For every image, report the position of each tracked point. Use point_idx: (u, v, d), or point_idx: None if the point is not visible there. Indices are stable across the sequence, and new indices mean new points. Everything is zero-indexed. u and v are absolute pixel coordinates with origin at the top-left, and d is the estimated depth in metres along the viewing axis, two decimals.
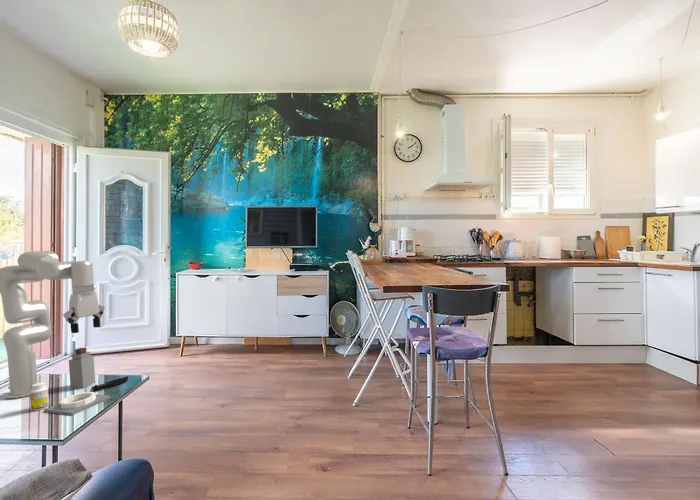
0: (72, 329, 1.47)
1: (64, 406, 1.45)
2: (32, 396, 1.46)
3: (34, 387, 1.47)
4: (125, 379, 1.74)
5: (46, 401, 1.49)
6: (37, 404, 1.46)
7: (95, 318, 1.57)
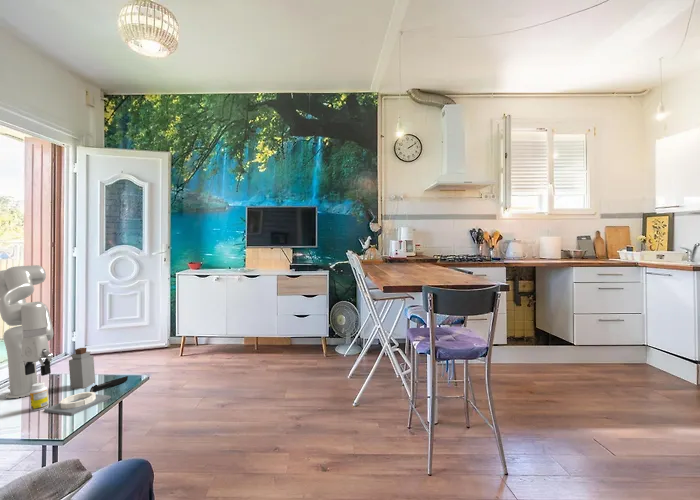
0: (47, 370, 1.47)
1: (64, 406, 1.45)
2: (32, 396, 1.46)
3: (34, 387, 1.47)
4: (125, 379, 1.74)
5: (46, 401, 1.49)
6: (37, 404, 1.46)
7: (29, 364, 1.50)
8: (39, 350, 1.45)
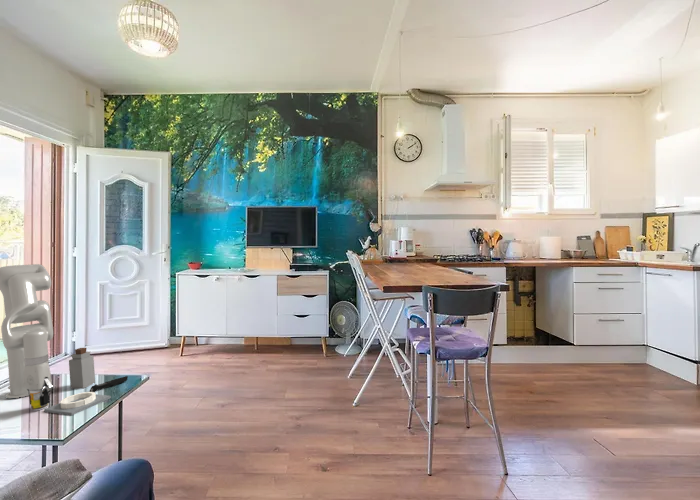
0: (46, 400, 1.48)
1: (64, 406, 1.45)
2: (32, 396, 1.46)
3: None
4: (125, 379, 1.74)
5: None
6: (37, 404, 1.46)
7: None
8: (41, 378, 1.46)
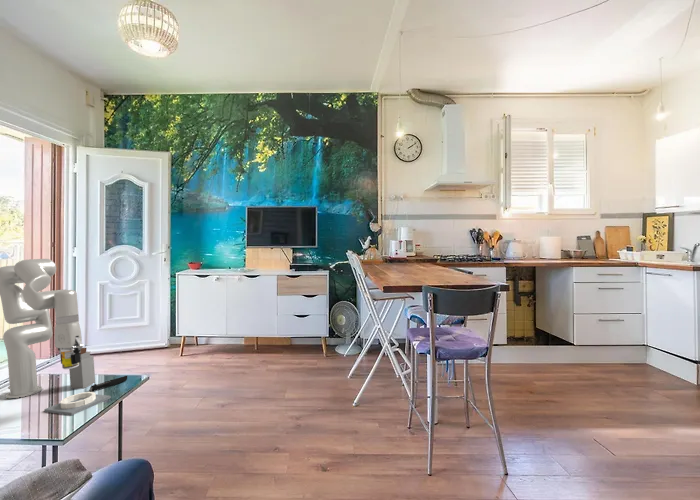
0: (77, 359, 1.48)
1: (64, 406, 1.45)
2: (63, 354, 1.47)
3: None
4: (124, 378, 1.75)
5: None
6: (68, 363, 1.47)
7: None
8: (72, 337, 1.46)
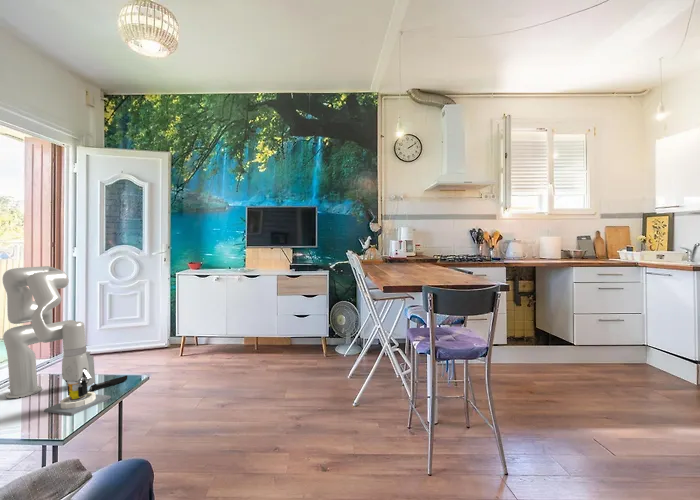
0: (84, 391, 1.49)
1: (64, 406, 1.45)
2: (70, 387, 1.47)
3: None
4: (124, 378, 1.75)
5: None
6: (76, 395, 1.48)
7: None
8: (80, 369, 1.47)
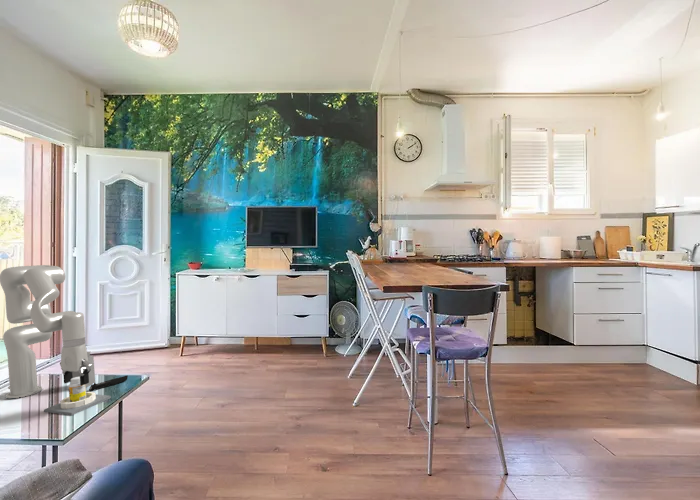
0: (86, 380, 1.48)
1: (64, 406, 1.45)
2: (71, 390, 1.47)
3: (73, 381, 1.48)
4: (124, 378, 1.75)
5: (84, 395, 1.50)
6: (76, 398, 1.48)
7: (67, 373, 1.52)
8: (79, 360, 1.47)
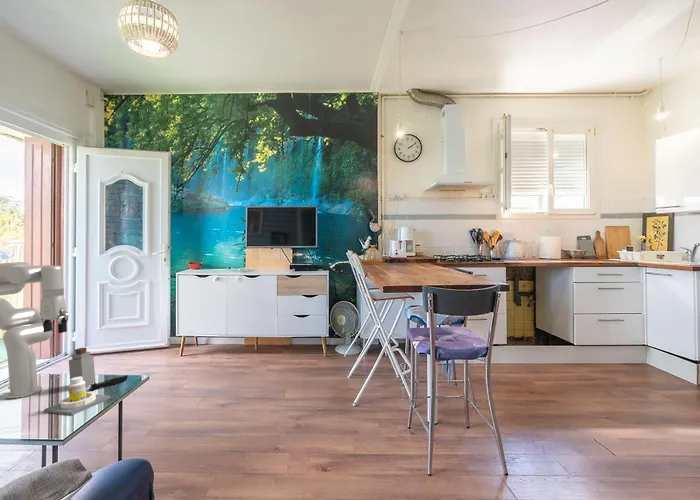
0: (64, 328, 1.57)
1: (64, 406, 1.45)
2: (71, 390, 1.47)
3: (73, 381, 1.48)
4: (124, 378, 1.75)
5: (84, 395, 1.50)
6: (76, 398, 1.48)
7: (47, 322, 1.60)
8: (57, 309, 1.56)
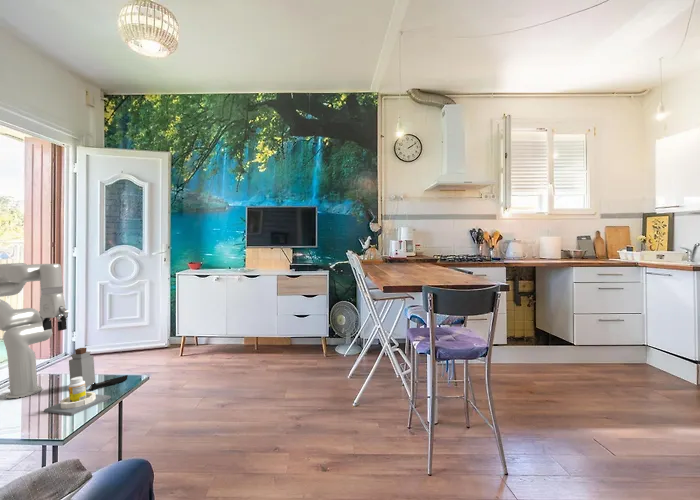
0: (63, 326, 1.58)
1: (64, 406, 1.45)
2: (71, 390, 1.47)
3: (73, 381, 1.48)
4: (124, 378, 1.75)
5: (84, 395, 1.50)
6: (76, 398, 1.48)
7: (46, 321, 1.61)
8: (56, 307, 1.56)
